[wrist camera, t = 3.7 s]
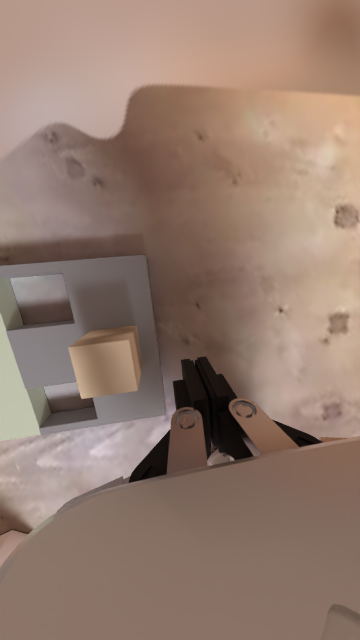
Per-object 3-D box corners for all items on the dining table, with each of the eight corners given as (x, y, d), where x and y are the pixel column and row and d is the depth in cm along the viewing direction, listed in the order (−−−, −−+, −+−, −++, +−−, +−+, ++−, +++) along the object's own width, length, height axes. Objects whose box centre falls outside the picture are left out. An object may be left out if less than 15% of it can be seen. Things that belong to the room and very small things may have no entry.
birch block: (136, 325, 20) (128, 340, 15) (142, 365, 21) (137, 390, 16) (91, 330, 19) (68, 347, 14) (99, 370, 20) (81, 399, 16)
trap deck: (146, 257, 21) (145, 254, 18) (165, 401, 25) (165, 414, 23) (-70, 274, 19) (-105, 274, 16) (-6, 428, 23) (-26, 445, 21)
